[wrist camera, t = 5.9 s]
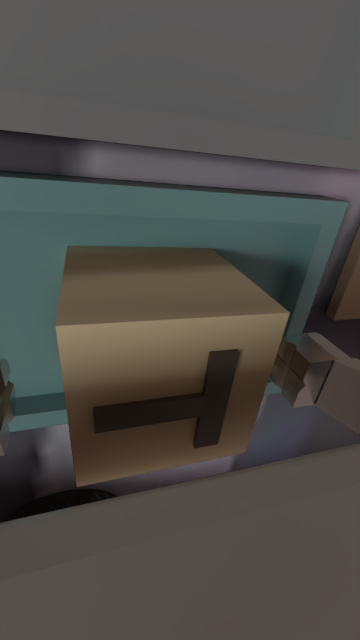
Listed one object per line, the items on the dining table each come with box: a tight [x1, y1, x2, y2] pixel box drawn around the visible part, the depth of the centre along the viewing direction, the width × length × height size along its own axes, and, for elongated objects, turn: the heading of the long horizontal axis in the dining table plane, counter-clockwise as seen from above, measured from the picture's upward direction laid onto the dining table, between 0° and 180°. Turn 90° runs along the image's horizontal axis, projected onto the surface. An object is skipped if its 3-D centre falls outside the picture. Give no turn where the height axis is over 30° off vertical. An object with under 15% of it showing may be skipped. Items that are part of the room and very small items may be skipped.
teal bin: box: [0, 171, 349, 432], centre depth 11 cm, size 9×14×2 cm, turn 84°
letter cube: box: [55, 246, 290, 487], centre depth 9 cm, size 5×5×5 cm
